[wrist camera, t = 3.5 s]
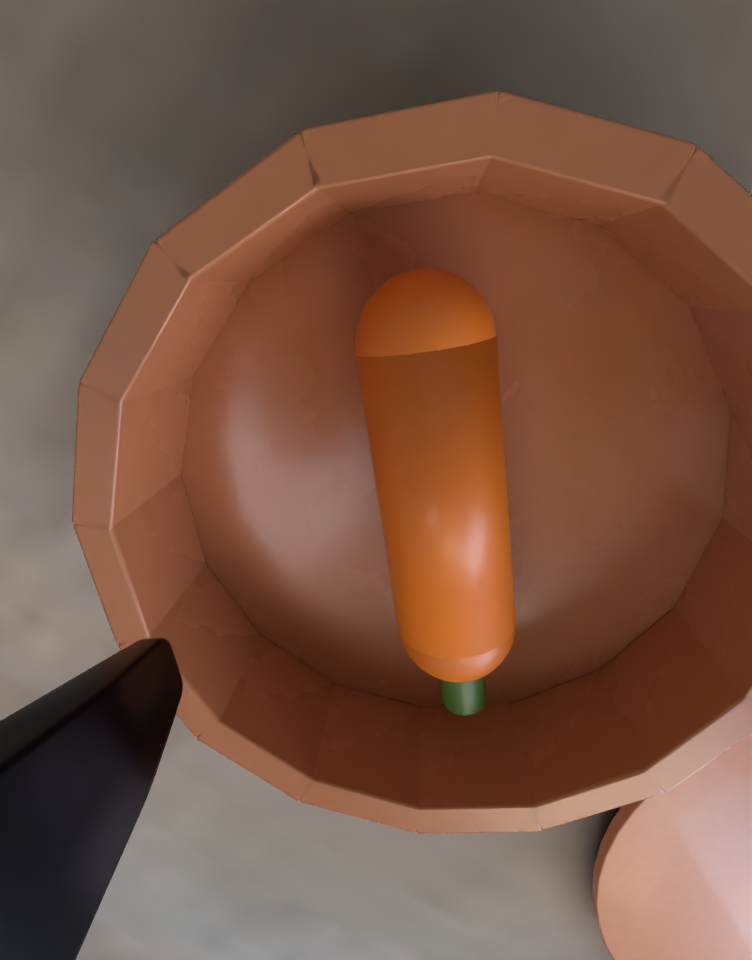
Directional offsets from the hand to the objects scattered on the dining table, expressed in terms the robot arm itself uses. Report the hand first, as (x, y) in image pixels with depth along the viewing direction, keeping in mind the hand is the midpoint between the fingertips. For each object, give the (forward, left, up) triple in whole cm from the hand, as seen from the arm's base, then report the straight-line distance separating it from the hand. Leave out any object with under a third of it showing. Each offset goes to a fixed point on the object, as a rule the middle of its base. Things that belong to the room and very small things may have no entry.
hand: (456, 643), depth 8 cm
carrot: (0, 0, -7) cm, 7 cm away
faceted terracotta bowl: (0, 0, -7) cm, 7 cm away
